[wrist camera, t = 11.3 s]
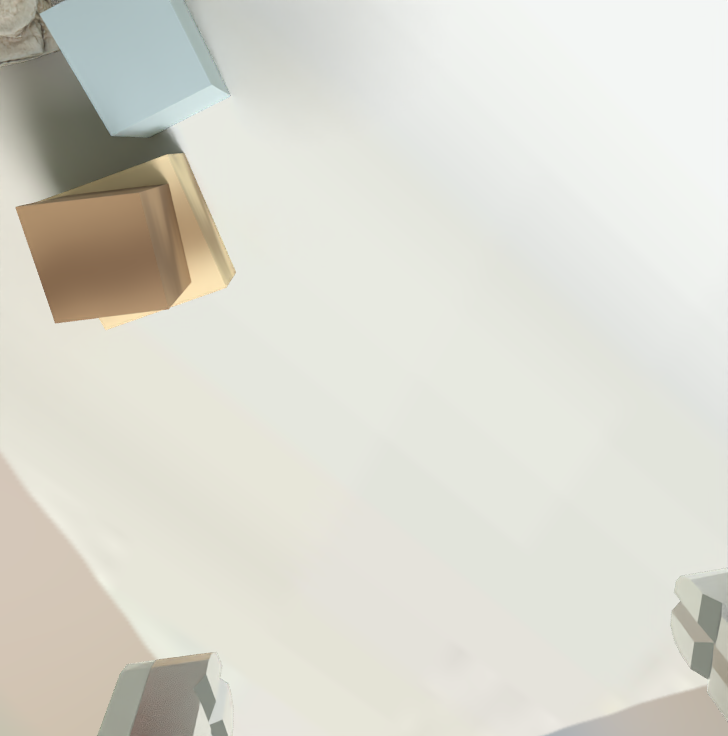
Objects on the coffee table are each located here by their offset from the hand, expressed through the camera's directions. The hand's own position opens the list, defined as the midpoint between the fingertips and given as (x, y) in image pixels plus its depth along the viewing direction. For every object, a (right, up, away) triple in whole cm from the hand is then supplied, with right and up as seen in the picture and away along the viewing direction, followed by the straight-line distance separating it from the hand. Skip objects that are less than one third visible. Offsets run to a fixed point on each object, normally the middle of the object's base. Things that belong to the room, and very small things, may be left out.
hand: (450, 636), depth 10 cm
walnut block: (-13, +11, +18) cm, 25 cm away
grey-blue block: (-12, +20, +19) cm, 30 cm away
